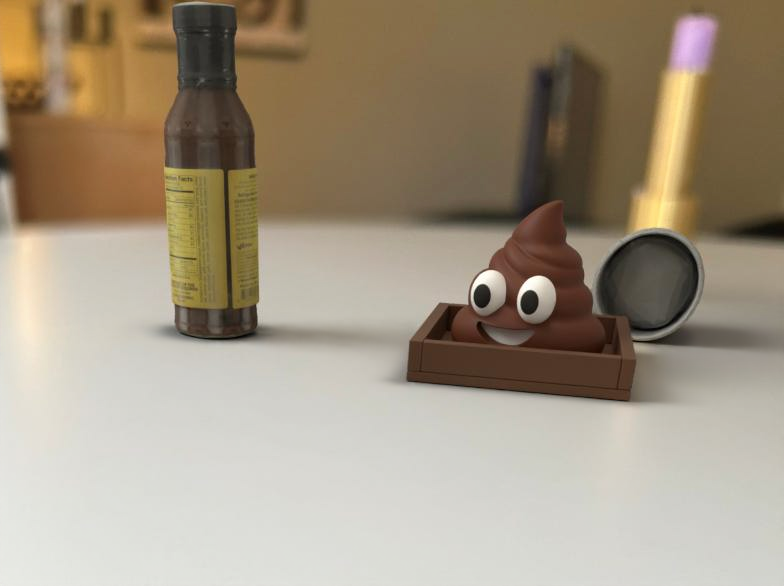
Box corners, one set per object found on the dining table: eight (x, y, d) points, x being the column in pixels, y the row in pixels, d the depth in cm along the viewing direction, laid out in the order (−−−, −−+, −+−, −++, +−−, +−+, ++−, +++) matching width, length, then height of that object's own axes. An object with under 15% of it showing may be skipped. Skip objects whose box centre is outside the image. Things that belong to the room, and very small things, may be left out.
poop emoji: (619, 356, 66) (647, 202, 61) (572, 379, 59) (599, 209, 55) (481, 334, 70) (497, 190, 66) (424, 354, 64) (438, 196, 60)
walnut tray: (621, 351, 70) (627, 316, 69) (629, 401, 58) (636, 359, 57) (436, 336, 72) (439, 302, 71) (406, 380, 60) (409, 340, 59)
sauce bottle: (244, 321, 75) (244, 10, 66) (270, 338, 70) (275, 4, 61) (160, 324, 73) (149, 4, 64) (181, 342, 68) (172, -3, 59)
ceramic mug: (690, 326, 79) (710, 221, 75) (692, 345, 72) (714, 231, 68) (554, 316, 82) (567, 215, 78) (543, 334, 75) (557, 224, 71)
